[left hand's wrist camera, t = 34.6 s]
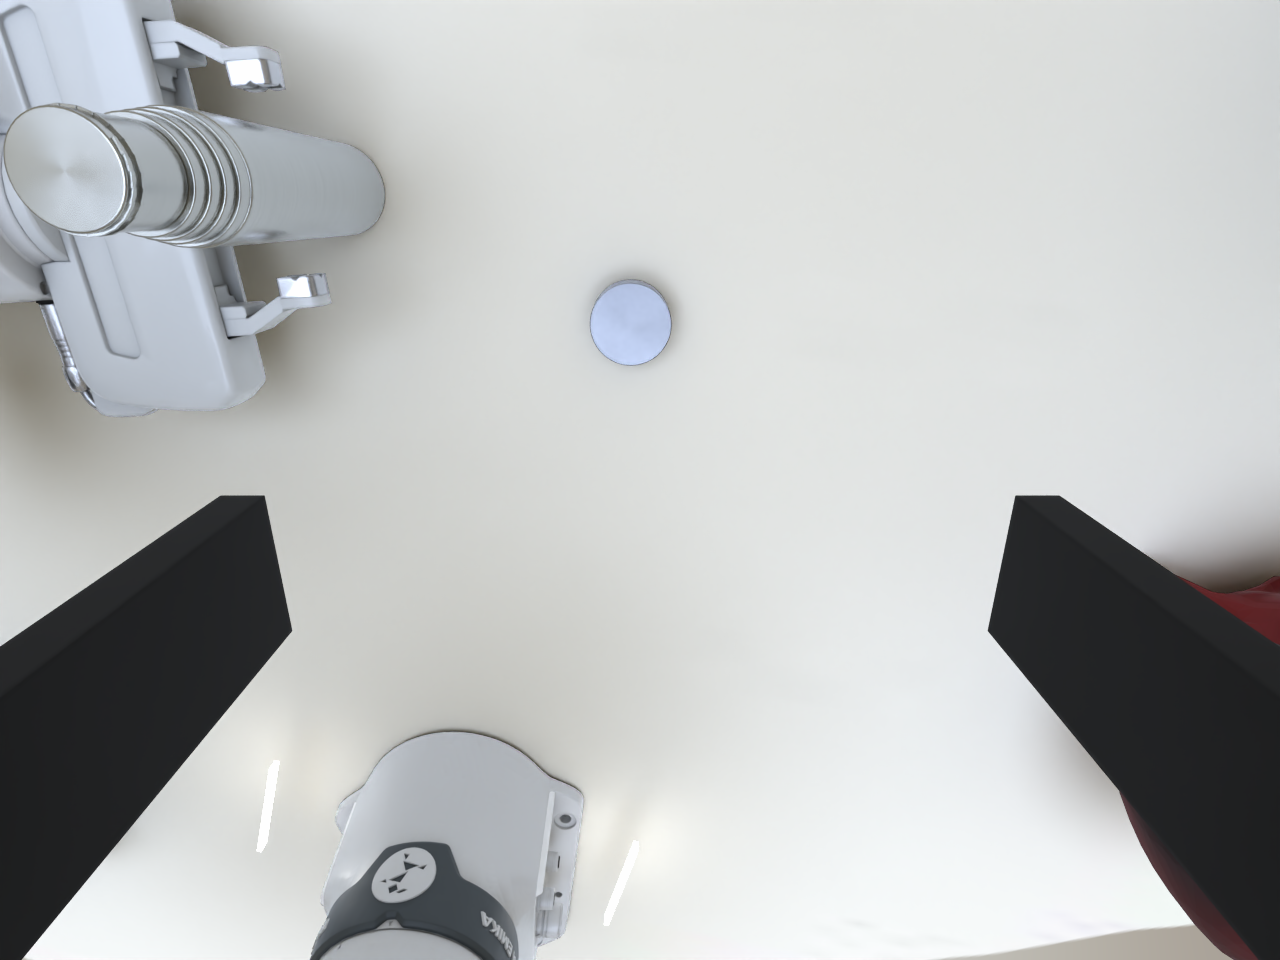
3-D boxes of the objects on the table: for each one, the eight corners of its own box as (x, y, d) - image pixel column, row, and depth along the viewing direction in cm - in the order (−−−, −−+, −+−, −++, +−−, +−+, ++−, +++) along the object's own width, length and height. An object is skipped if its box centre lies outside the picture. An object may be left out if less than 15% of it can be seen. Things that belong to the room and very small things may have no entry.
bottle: (327, 249, 40) (52, 285, 21) (280, 164, 38) (-63, 121, 19) (401, 214, 39) (185, 218, 20) (356, 126, 38) (78, 44, 19)
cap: (685, 325, 42) (687, 331, 40) (624, 373, 43) (624, 381, 41) (637, 262, 40) (637, 265, 38) (576, 313, 41) (573, 318, 39)
